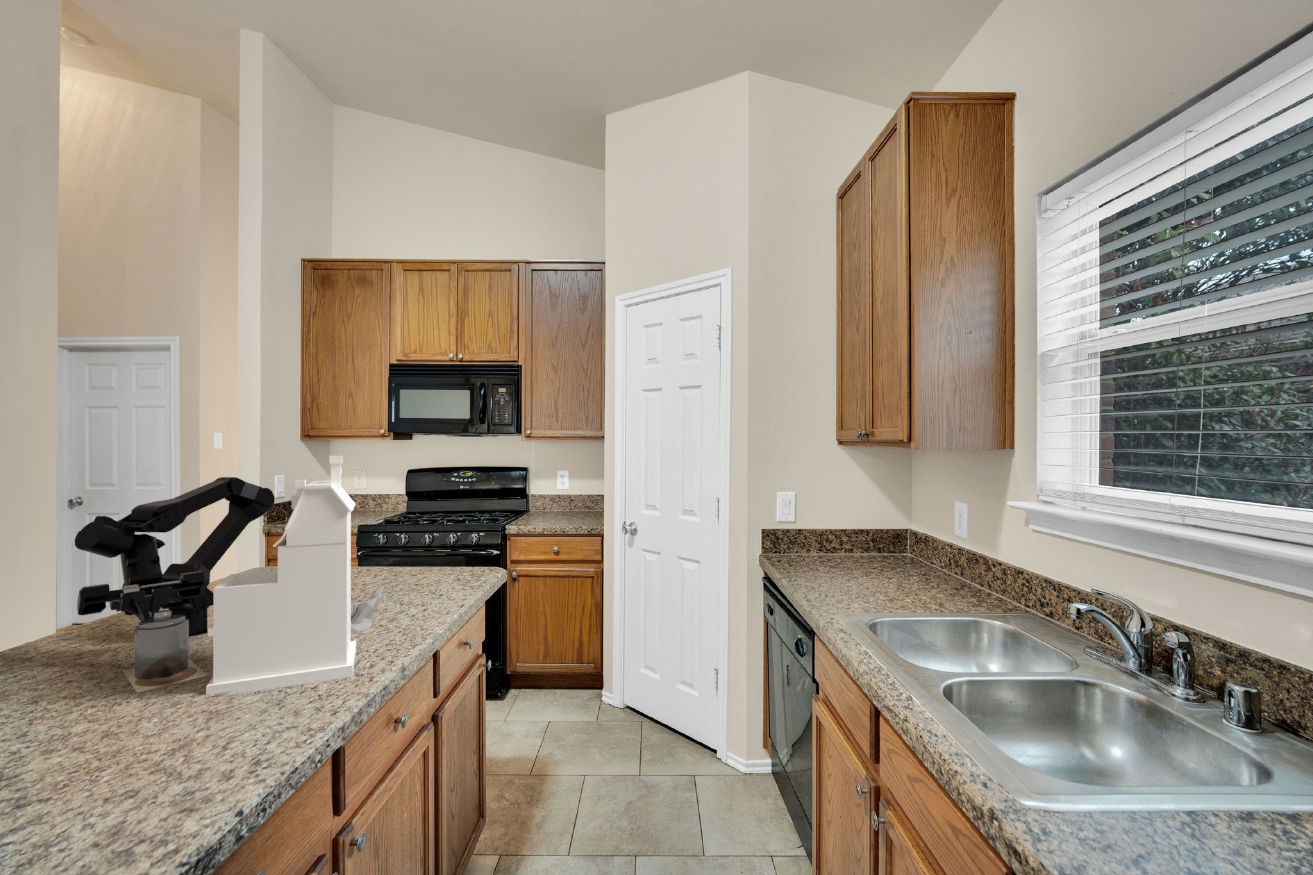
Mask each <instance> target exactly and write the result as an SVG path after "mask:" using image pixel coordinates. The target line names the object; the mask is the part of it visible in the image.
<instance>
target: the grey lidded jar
mask: <svg viewBox="0 0 1313 875" xmlns="http://www.w3.org/2000/svg"><path fill="white" fill-rule="evenodd" d="M189 639H190V637H189V620H188V619H185V616H184V615H171V610H169V609H162V610H159V611H157V612H154V618H150V619H146V620H143V621H139V622H138V625H137V626H136V627H134V668H135V678H137V679H153V678H159V677H164V676H169V675H172V674H176V673H178V672H181V671H183V670H185V669H187V668H188V666H189V659H190V658H189V656H190V655H189V654H190V653H189V652H190V649H189V648H190V647H189V644H190V642H189V641H190V640H189Z"/></svg>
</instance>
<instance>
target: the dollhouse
mask: <svg viewBox="0 0 1313 875" xmlns="http://www.w3.org/2000/svg"><path fill="white" fill-rule="evenodd" d="M328 458H329V459H328V460H329V461H328V462H329V465H330V472H331V473H330V480H314V481H312V482H310V483H308V484H307V483H306V482H307V480H306V479H295V480H294V481H295V482H294V483H295V485H294V486H295V488H294V490H295V489H296V493H293V494H291V509H292V510H293V511H292V512H291V515H290V517H289V519H288V521H287V523H286V525H285V528H284V529H283V530H284V532H283V534H282V536H281V537H280V538H279V539H278V540H277V541H276V542H275V543H274V544H272V548H276V546H277V570H271V571H270V570H269V571H268V570H267V571H259V572H258V571H257V572H256V571H255V572H246V573H245V572H244V573H243V572H242V573H234V574H233V573H232V574H231V573H230V575H227V577H226V578H225V579H223V580H222V581H221V582H220V583H219V584H217V585H216V586H215V587H214V588H213V593H214V605H213V619H212V620H213V625H211V626H209V627H207V630H208V633H207V637H209V638H210V637H213V640H212V641H213V644H212V645H213V646H212V647H213V650H212V651H213V654H212V655H213V656H212V657H213V660H212V661H213V662H212V663H213V666H212V667H213V668H212V670H213V673H212V675H213V676H212V678H211V679H210V681H209V682H208V683H207V685H206V686H205V694H206V696H207V695H211V696H207V697H206V699H211V697H212V698H218V697H223V696H224V697H225V696H231V695H239V694H245V693H250V692H257V691H263V690H264V691H265V690H272V689H278V688H284V687H285V688H286V687H292V686H297V685H305V684H311V683H319V682H325V681H331V680H337V679H344V678H352V677H353V674H354V669H355V660H356V654H357V640H351V639H352V638H351V637H352V636H351V635H352V634H351V633H352V632H351V602H352V599H351V597H352V586H351V585H352V566H351V565H352V551H351V550H352V522H351V521H352V514H351V513H352V512H353V511H354V508H355V507H356V504H357V503H356V502H355V501H354V500H353V499H352V498H351V497H350V494H348V492H346V490H345V489H344V488H343V486H342V474H343V467H342V465H343V463H344V456H343V455H329V456H328ZM212 694H214V695H212Z"/></svg>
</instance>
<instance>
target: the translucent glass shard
mask: <svg viewBox="0 0 1313 875" xmlns="http://www.w3.org/2000/svg"><path fill="white" fill-rule="evenodd" d="M382 591H383V590H382V586H381V584H380V585H379V586H378V587H377V588H376V589H375V591H373V592H372V593H371V596H370V599H368V600H367V599H366V597H365V598H363V599H362V601H360V603H358V605H357V604H355V603H356V599H353V600H351V633H354V632H360V631H365V630H367V629H369V628H371V627H372V626H373V624H374V622H373V620H372V619H371V617H373V615H374V613H375V611H376V609H377V608H378V606H379V605H380V604H381V600H382V599H383V592H382Z"/></svg>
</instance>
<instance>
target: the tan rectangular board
mask: <svg viewBox="0 0 1313 875" xmlns="http://www.w3.org/2000/svg"><path fill="white" fill-rule="evenodd" d="M121 672H122V673H123V675H125V677H126V679H127V680H128V681H129V683H130V684H131V685H130V686H132V688H133V689H134V690H135V692H136V693H142V692H145V691H151V690H154V689H157V688H158V689H159V688H162V687H166V686H170V685H174V684H178V683H182V682H186V681H191V680H194V679H198V678H203V677H206V676H208V675H207V674H206V673H205V672H204V671H203V670H202V669H201V668H200V667H199V666H198V665H197V664H196V663H194V661H193V660H192V659H190V658H189V666H188V668H187V669H185V670H183V671H181V672H178V673H176V674H172V675H169V676H164V677H159V678H153V679H137V678H135V667H133V668H129V669H125V670H122V671H121Z"/></svg>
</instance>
